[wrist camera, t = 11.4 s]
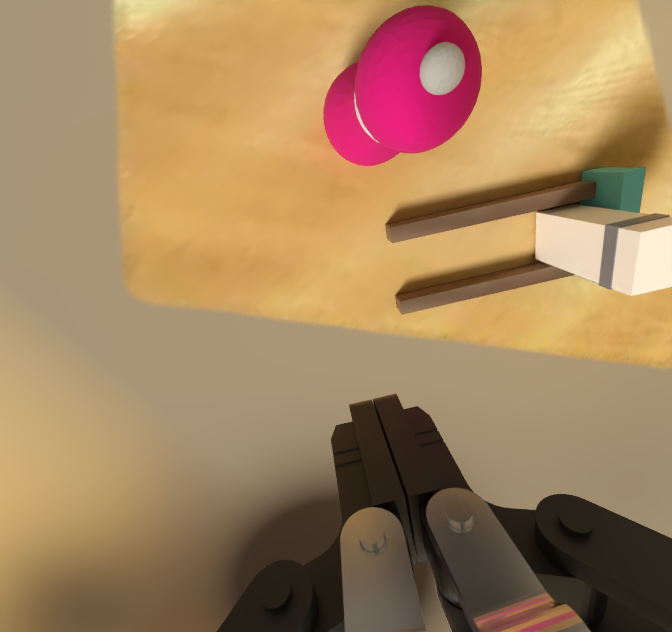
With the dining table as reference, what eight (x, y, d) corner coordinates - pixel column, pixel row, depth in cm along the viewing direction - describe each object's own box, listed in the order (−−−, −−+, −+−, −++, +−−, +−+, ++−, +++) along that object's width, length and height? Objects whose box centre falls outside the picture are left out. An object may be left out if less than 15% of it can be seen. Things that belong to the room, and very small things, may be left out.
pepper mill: (303, 105, 31) (321, 17, 13) (376, 55, 30) (505, -113, 12) (345, 181, 34) (408, 199, 15) (412, 138, 33) (562, 103, 15)
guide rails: (385, 224, 36) (390, 227, 34) (595, 177, 36) (611, 178, 35) (397, 307, 39) (402, 314, 38) (587, 263, 40) (601, 268, 38)
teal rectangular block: (581, 171, 36) (624, 172, 31) (601, 167, 36) (646, 167, 31) (574, 274, 40) (610, 288, 36) (590, 270, 40) (629, 283, 36)
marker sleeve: (535, 211, 37) (639, 231, 26) (574, 202, 37) (695, 218, 26) (534, 260, 39) (629, 297, 28) (571, 251, 39) (681, 285, 28)
